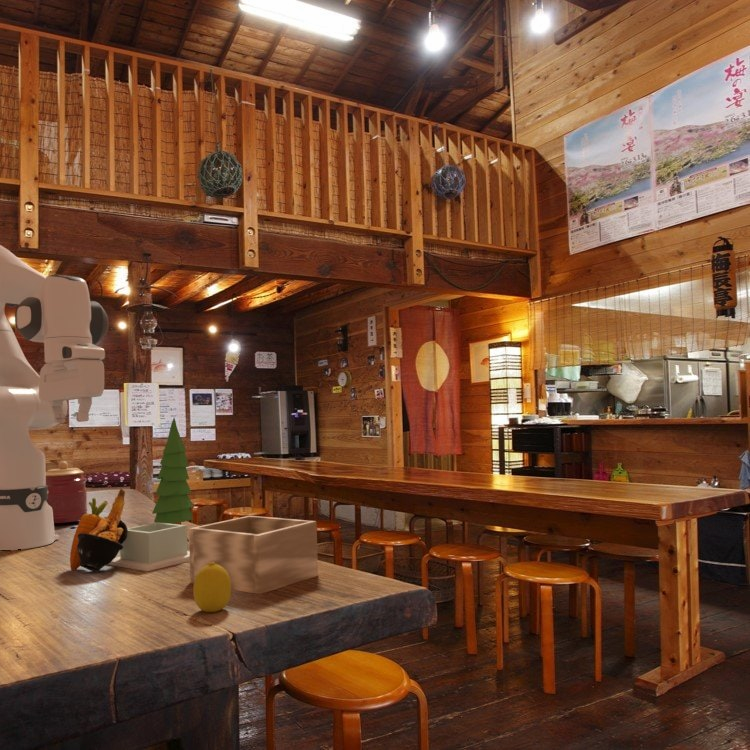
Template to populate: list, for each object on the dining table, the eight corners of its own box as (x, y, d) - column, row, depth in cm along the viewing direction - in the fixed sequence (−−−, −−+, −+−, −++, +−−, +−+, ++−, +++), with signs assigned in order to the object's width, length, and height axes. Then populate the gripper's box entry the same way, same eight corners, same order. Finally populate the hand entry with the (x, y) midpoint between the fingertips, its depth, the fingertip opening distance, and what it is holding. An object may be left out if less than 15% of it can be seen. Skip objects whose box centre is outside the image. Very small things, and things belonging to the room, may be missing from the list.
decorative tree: (176, 546, 154) (173, 416, 155) (143, 545, 157) (140, 417, 159) (201, 538, 163) (198, 415, 165) (169, 537, 166) (166, 416, 168)
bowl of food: (69, 561, 123) (107, 470, 132) (60, 565, 132) (96, 480, 140) (118, 575, 127) (152, 486, 135) (106, 578, 135) (138, 495, 144)
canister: (30, 524, 195) (29, 463, 196) (58, 516, 208) (57, 460, 209) (70, 524, 193) (69, 462, 194) (96, 516, 206) (95, 459, 207)
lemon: (197, 611, 102) (196, 559, 103) (234, 609, 103) (232, 557, 103) (190, 623, 97) (189, 567, 97) (229, 620, 97) (227, 565, 98)
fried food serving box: (190, 585, 118) (189, 528, 119) (250, 566, 131) (249, 515, 131) (259, 597, 109) (258, 535, 109) (318, 576, 121) (316, 521, 122)
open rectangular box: (104, 565, 137) (103, 530, 137) (160, 551, 149) (159, 520, 149) (147, 572, 129) (146, 536, 130) (203, 557, 141) (202, 524, 141)
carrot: (64, 566, 129) (94, 493, 136) (56, 567, 132) (86, 495, 139) (88, 574, 131) (117, 501, 138) (80, 574, 135) (109, 504, 142)
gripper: (29, 358, 139) (31, 424, 138) (78, 348, 126) (80, 421, 125) (59, 359, 143) (61, 423, 143) (109, 349, 131) (112, 419, 130)
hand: (70, 422), depth 134 cm, fingers open, 8 cm apart
